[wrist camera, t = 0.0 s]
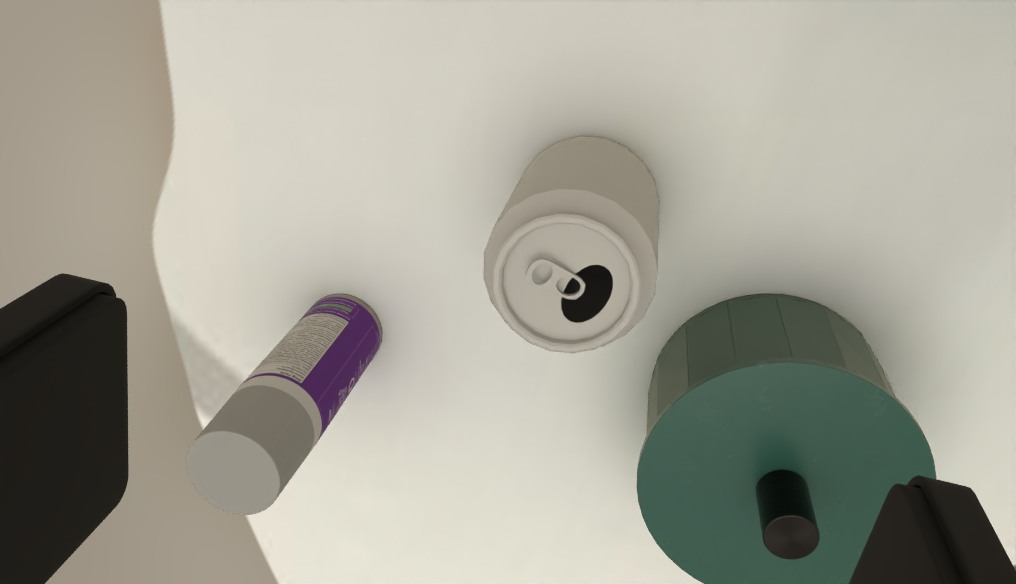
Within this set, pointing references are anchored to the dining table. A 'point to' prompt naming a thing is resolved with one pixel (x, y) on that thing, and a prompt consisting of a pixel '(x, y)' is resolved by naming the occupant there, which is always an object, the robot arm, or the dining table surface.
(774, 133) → the dining table surface
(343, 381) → the container
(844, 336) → the pot
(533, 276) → the can
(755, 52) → the dining table surface
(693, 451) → the pot lid
